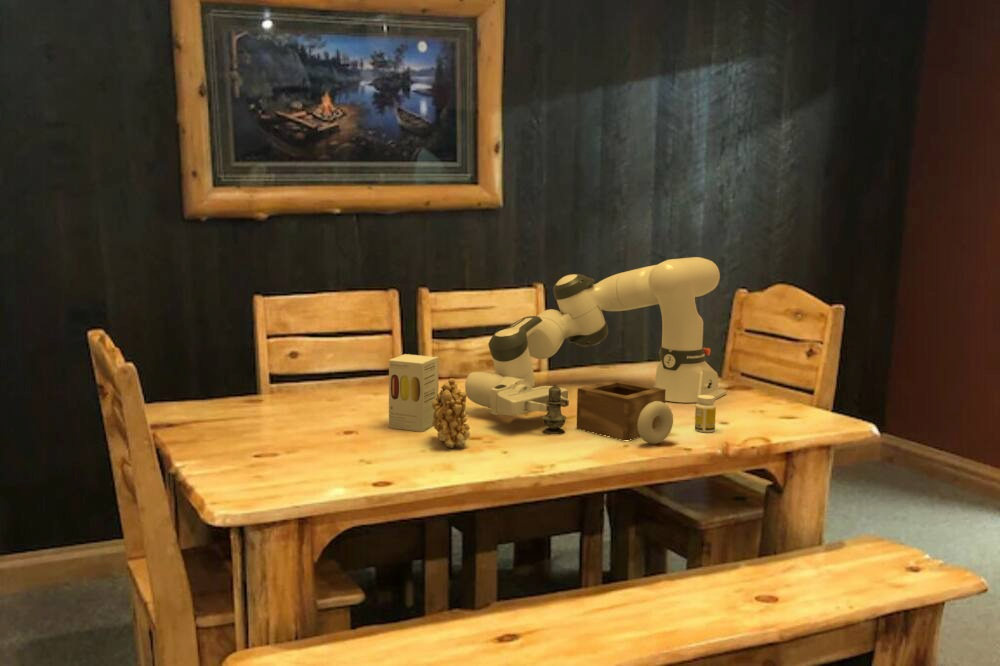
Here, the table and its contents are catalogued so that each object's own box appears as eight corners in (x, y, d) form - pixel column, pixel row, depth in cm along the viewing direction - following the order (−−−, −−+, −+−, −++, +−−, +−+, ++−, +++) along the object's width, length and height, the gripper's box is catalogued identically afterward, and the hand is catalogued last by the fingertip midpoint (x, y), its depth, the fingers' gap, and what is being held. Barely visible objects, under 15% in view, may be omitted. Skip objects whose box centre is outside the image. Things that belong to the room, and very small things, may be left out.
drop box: (614, 418, 233) (616, 379, 232) (663, 429, 223) (665, 389, 221) (576, 428, 223) (577, 388, 221) (626, 441, 212) (627, 399, 211)
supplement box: (387, 428, 221) (386, 359, 219) (404, 419, 230) (404, 353, 227) (423, 432, 218) (423, 362, 215) (439, 423, 227) (439, 356, 224)
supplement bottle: (715, 428, 224) (717, 395, 223) (713, 433, 220) (715, 399, 219) (695, 427, 226) (697, 393, 225) (693, 431, 222) (694, 397, 220)
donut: (643, 448, 207) (645, 405, 205) (633, 445, 209) (634, 402, 208) (675, 442, 212) (677, 400, 211) (664, 438, 215) (666, 397, 213)
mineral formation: (440, 452, 202) (440, 385, 199) (422, 437, 214) (422, 373, 212) (474, 449, 205) (475, 383, 202) (455, 434, 217) (455, 371, 215)
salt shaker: (564, 435, 217) (565, 386, 215) (539, 434, 218) (540, 384, 216) (567, 429, 222) (568, 380, 220) (543, 427, 223) (544, 379, 221)
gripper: (543, 401, 236) (584, 411, 226) (486, 415, 221) (528, 426, 212) (543, 377, 235) (585, 386, 225) (486, 389, 220) (528, 399, 211)
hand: (557, 405), depth 218 cm, fingers open, 6 cm apart
